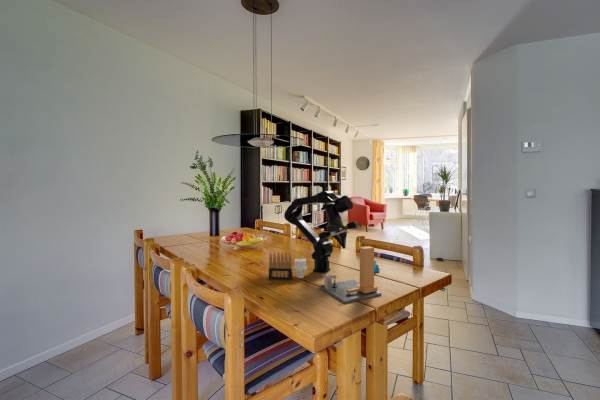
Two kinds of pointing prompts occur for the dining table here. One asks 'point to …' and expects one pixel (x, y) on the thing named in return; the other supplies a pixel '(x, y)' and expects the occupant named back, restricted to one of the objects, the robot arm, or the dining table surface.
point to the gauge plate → (345, 290)
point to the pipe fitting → (300, 267)
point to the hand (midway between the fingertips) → (344, 248)
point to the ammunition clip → (276, 270)
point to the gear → (376, 267)
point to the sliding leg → (366, 271)
